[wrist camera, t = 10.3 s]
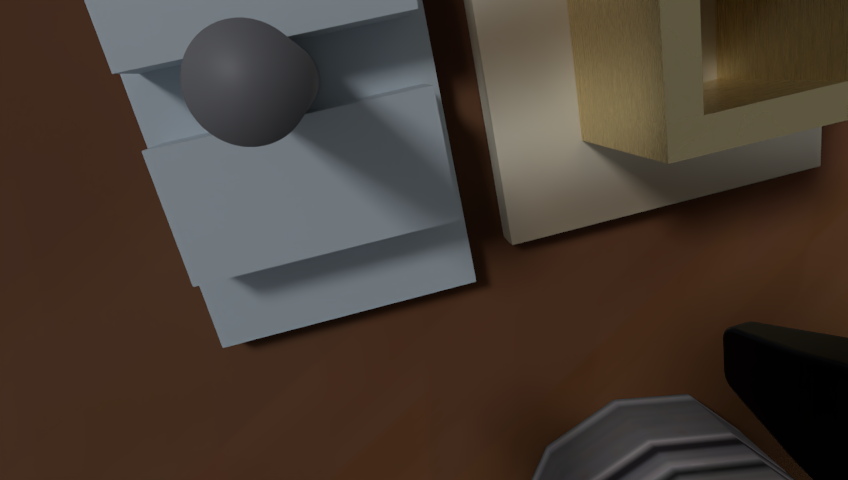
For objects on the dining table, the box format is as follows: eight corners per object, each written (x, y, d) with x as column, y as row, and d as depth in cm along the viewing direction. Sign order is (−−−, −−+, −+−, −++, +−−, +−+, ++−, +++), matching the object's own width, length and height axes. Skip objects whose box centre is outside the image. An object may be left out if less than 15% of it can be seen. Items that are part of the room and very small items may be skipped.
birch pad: (798, 161, 21) (820, 166, 20) (503, 237, 20) (512, 245, 19) (805, -206, 17) (832, -223, 16) (440, -138, 16) (446, -150, 15)
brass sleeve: (744, 101, 19) (881, 111, 14) (581, 140, 18) (668, 164, 14) (742, -93, 17) (900, -156, 12) (560, -56, 16) (653, -107, 12)
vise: (469, 271, 20) (569, 416, 12) (228, 334, 19) (147, 539, 11) (334, -418, 14) (338, -1188, 5) (-31, -367, 13) (-699, -1174, 5)
